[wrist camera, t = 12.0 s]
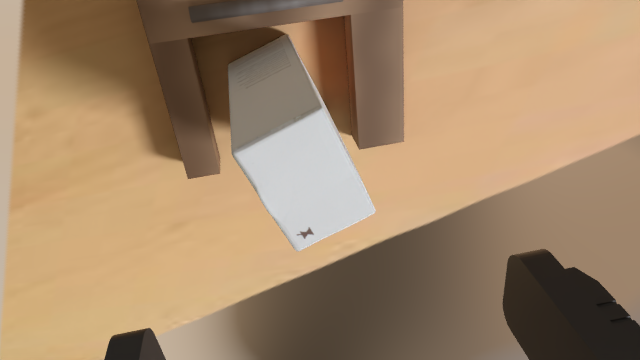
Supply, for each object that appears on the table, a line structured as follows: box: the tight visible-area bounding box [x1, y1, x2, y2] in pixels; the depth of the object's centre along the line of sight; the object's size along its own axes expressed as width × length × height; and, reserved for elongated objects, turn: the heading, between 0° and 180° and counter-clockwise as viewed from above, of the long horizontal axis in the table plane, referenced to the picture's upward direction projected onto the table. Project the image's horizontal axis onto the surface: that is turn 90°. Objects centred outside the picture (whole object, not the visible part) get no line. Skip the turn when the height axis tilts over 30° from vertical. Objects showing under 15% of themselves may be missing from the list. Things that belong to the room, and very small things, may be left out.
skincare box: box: [228, 34, 375, 251], centre depth 25 cm, size 6×4×12 cm
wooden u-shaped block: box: [137, 0, 404, 179], centre depth 28 cm, size 14×11×3 cm
